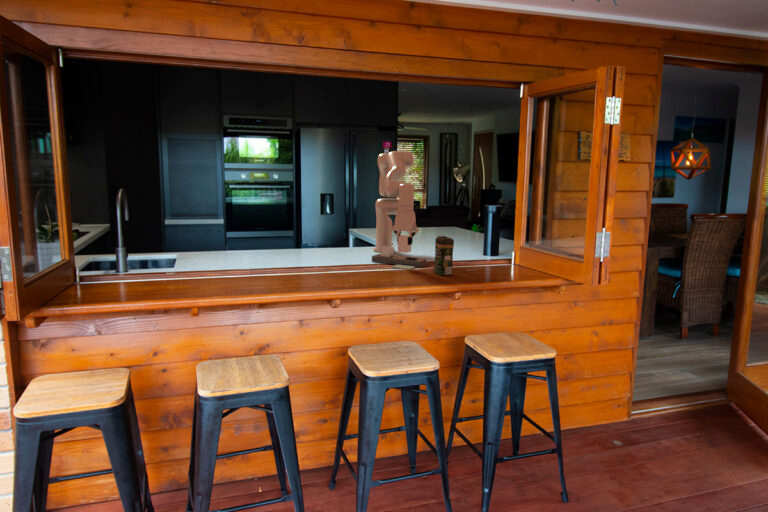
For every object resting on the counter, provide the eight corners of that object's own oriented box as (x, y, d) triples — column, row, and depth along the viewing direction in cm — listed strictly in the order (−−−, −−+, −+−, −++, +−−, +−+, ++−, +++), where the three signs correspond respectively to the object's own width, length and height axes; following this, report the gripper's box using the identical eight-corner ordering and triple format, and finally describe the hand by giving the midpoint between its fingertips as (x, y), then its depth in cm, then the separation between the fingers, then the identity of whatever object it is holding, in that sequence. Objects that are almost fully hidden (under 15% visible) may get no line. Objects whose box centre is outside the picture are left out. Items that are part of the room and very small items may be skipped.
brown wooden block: (384, 260, 286) (385, 246, 284) (393, 261, 284) (393, 247, 282) (380, 262, 281) (381, 247, 280) (389, 263, 279) (390, 248, 278)
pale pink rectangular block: (401, 250, 269) (402, 235, 268) (410, 251, 267) (411, 235, 265) (397, 251, 264) (398, 236, 263) (407, 252, 262) (407, 237, 261)
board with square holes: (378, 259, 289) (379, 253, 289) (426, 264, 278) (426, 258, 277) (371, 261, 281) (371, 256, 281) (420, 267, 270) (420, 261, 269)
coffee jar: (431, 272, 259) (433, 235, 256) (446, 271, 262) (447, 234, 258) (439, 276, 250) (441, 238, 247) (454, 275, 252) (456, 237, 249)
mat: (397, 265, 272) (397, 264, 272) (415, 267, 268) (415, 266, 268) (391, 267, 266) (392, 266, 266) (410, 270, 262) (410, 269, 262)
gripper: (387, 207, 262) (386, 243, 265) (419, 210, 255) (417, 246, 258) (393, 207, 269) (392, 241, 272) (424, 209, 262) (422, 244, 265)
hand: (404, 243), depth 265 cm, fingers closed on pale pink rectangular block, 5 cm apart
